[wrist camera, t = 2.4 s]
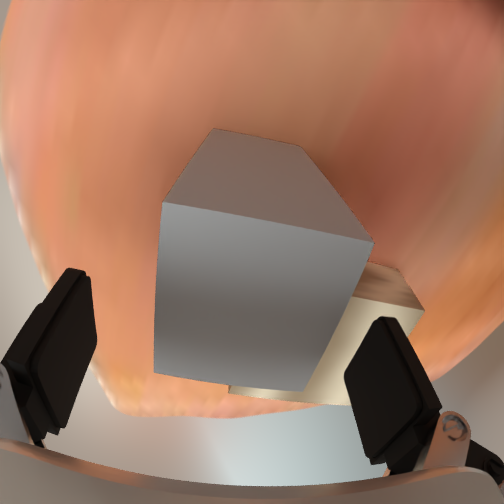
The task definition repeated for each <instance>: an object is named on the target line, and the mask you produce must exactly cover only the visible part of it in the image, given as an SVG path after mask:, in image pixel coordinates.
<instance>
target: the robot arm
mask: <svg viewBox="0 0 504 504" xmlns="http://www.w3.org/2000/svg"><path fill="white" fill-rule="evenodd" d="M96 345H97V333H96V326H95V318H94V309H93V299H92V289H91V279H90V277H89V276H86V273H85V271H83V270H78V269H73V268H67V269H66V270H65V271H64V273H63V274H62V276H61V277H60V278H59V280H58V281H57V282H56V284H55V285H54V287H53V288H52V289H51V291H50V292H49V294H48V295H47V296H46V298H45V299H44V301H43V302H42V303H40V304H38V305H37V306H36V307H35V309H34V310H33V312H32V313H31V315H30V317H29V318H28V320H27V321H26V322H25V324H24V325H23V327H22V329H21V330H20V332H19V333H18V335H17V336H16V338H15V340H14V341H13V343H12V345H11V346H10V348H9V350H8V351H7V353H6V354H5V356H4V358H3V360H2V361H1V363H0V504H504V463H503V462H502V460H501V459H500V458H499V457H498V456H497V455H496V454H494V453H492V452H491V451H489V450H487V449H486V448H484V447H482V446H481V445H479V444H477V443H476V442H474V441H473V440H471V439H470V438H471V430H470V426H469V424H468V423H467V421H466V420H465V419H464V417H462V416H461V415H460V414H458V413H456V412H453V411H447V412H444V413H443V414H442V415H440V413H439V410H440V409H441V408H442V405H441V403H440V401H439V399H438V397H437V395H436V392H435V390H434V388H433V386H432V384H431V382H430V380H429V378H428V376H427V374H426V372H425V370H424V368H423V366H422V364H421V362H420V360H419V359H418V357H417V355H416V353H415V351H414V349H413V347H412V345H411V343H410V342H409V340H408V338H407V336H406V334H405V332H404V331H403V329H402V327H401V325H400V323H399V322H398V320H397V319H396V318H395V317H387V316H380V317H378V319H377V320H374V321H373V322H372V324H371V326H370V328H369V330H368V332H367V333H366V335H365V337H364V339H363V341H362V342H361V344H360V346H359V348H358V349H357V351H356V353H355V355H354V356H353V358H352V360H351V361H350V363H349V365H348V366H347V368H346V370H345V372H344V382H345V386H346V389H347V392H348V396H349V399H350V402H351V406H352V409H353V413H354V416H355V420H356V423H357V427H358V431H359V434H360V438H361V441H362V445H363V449H364V452H365V455H366V457H368V458H369V459H370V463H371V465H375V464H382V463H385V462H386V464H387V469H386V471H385V473H384V475H383V477H379V478H373V479H367V480H359V481H352V482H343V483H333V484H321V485H305V486H270V487H269V486H265V487H264V486H233V485H219V484H207V483H198V482H189V481H181V480H174V479H167V478H161V477H155V476H149V475H144V474H139V473H134V472H129V471H124V470H120V469H116V468H112V467H107V466H103V465H99V464H95V463H91V462H87V461H84V460H81V459H77V458H74V457H71V456H67V455H64V454H61V453H58V452H55V451H51V450H48V449H47V448H46V445H45V443H44V441H43V439H44V438H45V436H46V434H47V432H49V433H52V434H55V435H58V434H59V431H60V428H65V427H66V425H67V422H68V419H69V416H70V413H71V411H72V408H73V405H74V402H75V399H76V397H77V394H78V391H79V388H80V386H81V383H82V381H83V378H84V375H85V373H86V371H87V368H88V366H89V363H90V361H91V358H92V356H93V353H94V351H95V348H96Z"/></svg>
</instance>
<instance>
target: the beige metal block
mask: <svg viewBox="0 0 504 504" xmlns="http://www.w3.org/2000/svg"><path fill="white" fill-rule="evenodd" d="M424 312H425V310H424V308H423V307H422V305H421V303H420V302H419V300H418V299H417V297H416V296H415V294H414V293H413V291H412V289H411V288H410V286H409V285H408V283H407V282H406V280H405V279H404V277H403V276H402V275H401V273H400V272H399V270H398V269H394V268H390V267H387V266H383V265H379V264H375V263H371V262H368V261H367V263H366V265H365V267H364V270H363V272H362V274H361V277H360V279H359V281H358V283H357V286H356V288H355V290H354V292H353V294H352V297H351V299H350V301H349V303H348V305H347V307H346V309H345V311H344V314H343V316H342V318H341V320H340V322H339V324H338V326H337V328H336V330H335V332H334V334H333V336H332V338H331V340H330V342H329V344H328V346H327V348H326V350H325V352H324V354H323V356H322V357H321V359H320V361H319V363H318V365H317V367H316V369H315V371H314V372H313V374H312V376H311V378H310V380H309V382H308V383H307V385H306V387H305V389H304V390H303V392H295V391H281V390H270V389H259V388H250V387H241V386H233V385H229V391H228V393H230V394H236V395H243V396H250V397H258V398H265V399H274V400H283V401H293V402H304V403H317V404H332V405H333V404H334V405H351V402H350V399H349V396H348V392H347V389H346V386H345V382H344V372H345V370H346V368H347V366H348V365H349V363H350V361H351V360H352V358H353V356H354V355H355V353H356V351H357V349H358V348H359V346H360V344H361V342H362V341H363V339H364V337H365V335H366V333H367V332H368V330H369V328H370V326H371V324H372V322H373V321H374V320H377V319H378V317H380V316H387V317H395V318H396V319H397V320H398V322H399V323H400V325H401V327H402V329H403V331H404V332H405V334H406V336H407V337H408V336H409V334H410V333H411V331H412V330H413V328H414V327H415V325H416V324H417V322H418V321H419V320H420V318H421V316H422V315H423V313H424Z"/></svg>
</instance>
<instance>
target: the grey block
mask: <svg viewBox="0 0 504 504" xmlns="http://www.w3.org/2000/svg"><path fill="white" fill-rule="evenodd" d="M374 244H375V243H374V241H373V240H372V238H371V237H370V236H369V234H368V233H367V231H366V230H365V229H364V227H363V226H362V224H361V223H360V222H359V220H358V219H357V218H356V216H355V215H354V214H353V212H352V211H351V210H350V208H349V207H348V206H347V204H346V203H345V202H344V200H343V199H342V198H341V196H340V195H339V194H338V192H337V191H336V190H335V189H334V187H333V186H332V185H331V183H330V182H329V181H328V180H327V178H326V177H325V176H324V175H323V173H322V172H321V171H320V170H319V168H318V167H317V166H316V165H315V163H314V162H313V161H312V160H311V159H310V157H309V156H308V155H307V154H306V152H305V151H304V150H303V149H302V148H301V147H300V146H297V145H292V144H288V143H284V142H279V141H275V140H270V139H266V138H261V137H256V136H251V135H246V134H241V133H236V132H231V131H225V130H220V129H214V128H213V129H212V131H211V132H210V133H209V135H208V136H207V137H206V139H205V140H204V142H203V143H202V144H201V146H200V147H199V149H198V150H197V151H196V153H195V154H194V156H193V157H192V159H191V160H190V161H189V163H188V164H187V166H186V167H185V169H184V170H183V172H182V173H181V175H180V176H179V178H178V179H177V181H176V182H175V184H174V185H173V187H172V188H171V190H170V191H169V193H168V194H167V196H166V197H165V199H164V200H163V203H162V212H161V223H160V234H159V246H158V259H157V275H156V293H155V318H154V373H159V374H164V375H169V376H175V377H180V378H186V379H192V380H198V381H204V382H211V383H218V384H225V385H233V386H241V387H250V388H259V389H270V390H281V391H295V392H303V390H304V389H305V387H306V385H307V383H308V382H309V380H310V378H311V376H312V374H313V372H314V371H315V369H316V367H317V365H318V363H319V361H320V359H321V357H322V356H323V354H324V352H325V350H326V348H327V346H328V344H329V342H330V340H331V338H332V336H333V334H334V332H335V330H336V328H337V326H338V324H339V322H340V320H341V318H342V316H343V314H344V311H345V309H346V307H347V305H348V303H349V301H350V299H351V297H352V294H353V292H354V290H355V288H356V286H357V283H358V281H359V279H360V277H361V274H362V272H363V270H364V267H365V265H366V263H367V260H368V258H369V256H370V253H371V251H372V249H373V246H374Z"/></svg>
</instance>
